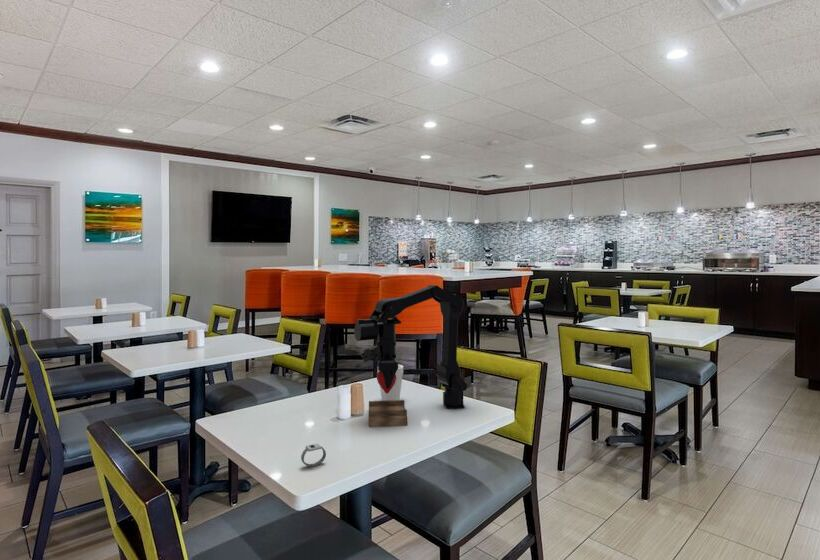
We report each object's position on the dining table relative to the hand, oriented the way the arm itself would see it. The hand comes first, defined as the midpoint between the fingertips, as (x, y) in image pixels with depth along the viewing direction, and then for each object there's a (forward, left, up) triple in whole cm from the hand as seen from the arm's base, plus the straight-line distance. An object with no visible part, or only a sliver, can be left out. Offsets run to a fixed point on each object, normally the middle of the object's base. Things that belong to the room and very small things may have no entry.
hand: (387, 385), depth 155 cm
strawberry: (0, 0, -3) cm, 3 cm away
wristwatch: (+20, +34, -11) cm, 41 cm away
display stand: (0, 0, -11) cm, 11 cm away
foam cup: (-2, -17, -11) cm, 20 cm away
